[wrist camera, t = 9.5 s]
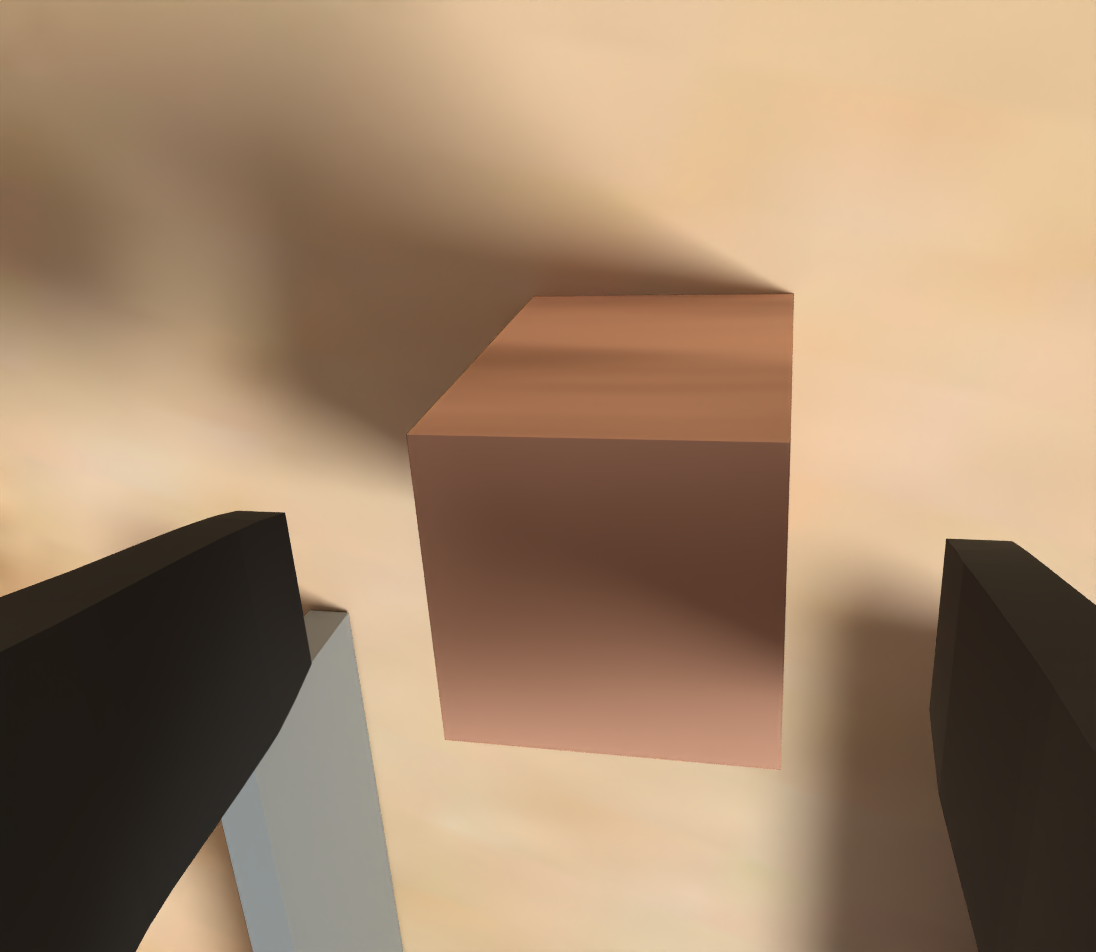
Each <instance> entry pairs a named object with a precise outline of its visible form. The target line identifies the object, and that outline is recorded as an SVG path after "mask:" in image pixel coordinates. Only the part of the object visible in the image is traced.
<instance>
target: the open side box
mask: <svg viewBox="0 0 1096 952" xmlns="http://www.w3.org/2000/svg"><path fill="white" fill-rule="evenodd" d="M304 622H305V627H306V633H307V639H308V644H309V650H310V655H311V661H312V665H311V667H310V669H309V671H308V674H307V676H306V678H305V680H304V683H303V685H302V687H301V689H300V691H299V694H298V696H297V698H296V700H295V702H294V704H293V706H292V708H291V710H290V712H289V714H288V716H287V718H286V720H285V722H284V724H283V726H282V728H281V730H280V732H279V734H278V736H277V737H276V739H275V740H274V742H273V743H272V745H271V746H270V748H269V749H268V751H267V752H266V754H265V755H264V757H263V758H262V760H261V761H260V763H259V764H258V766H257V767H256V769H255V770H254V772H253V773H252V775H251V776H250V778H249V779H248V781H247V782H246V784H245V785H244V787H243V788H242V790H241V791H240V792H239V794H238V795H237V797H236V798H235V800H234V801H233V803H232V804H231V805H230V807H229V808H228V810H227V811H226V813H225V814H224V816H223V817H222V818H221V821H222V825H223V829H224V833H225V838H226V842H227V846H228V850H229V854H230V858H231V863H232V867H233V871H234V875H235V879H236V883H237V888H238V892H239V896H240V900H241V904H242V908H243V913H244V917H245V921H246V925H247V929H248V933H249V938H250V942H251V946H252V950H253V952H403V947H402V941H401V934H400V928H399V922H398V916H397V910H396V904H395V897H394V891H393V885H392V879H391V873H390V867H389V860H388V854H387V848H386V842H385V836H384V829H383V823H382V817H381V811H380V805H379V799H378V792H377V786H376V780H375V774H374V768H373V762H372V755H371V749H370V743H369V737H368V731H367V725H366V718H365V712H364V706H363V700H362V694H361V687H360V681H359V675H358V669H357V663H356V657H355V650H354V644H353V638H352V632H351V626H350V620H349V613H346V612H329V611H313V610H309V611H308V612H307V614H306V615H305V616H304Z"/></svg>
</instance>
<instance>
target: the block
mask: <svg viewBox="0 0 1096 952" xmlns="http://www.w3.org/2000/svg"><path fill="white" fill-rule="evenodd" d="M793 310H794V294H714V295H621V296H534V297H533V298H532V299H531V300H530V301H529V302H528V303H527V304H526V305H525V306H524V308H523V309H522V310H521V311H520V312H519V313H518V314H517V315H516V316H515V317H514V318H513V319H512V321H511V322H510V323H509V324H508V325H507V326H506V327H505V328H504V329H503V330H502V331H501V333H500V334H499V335H498V336H497V337H496V338H495V339H494V340H493V341H492V342H491V343H490V344H489V346H488V347H487V348H486V349H485V350H484V351H483V352H482V353H481V354H480V355H479V356H478V357H477V359H476V360H475V361H474V362H473V363H472V364H471V365H470V366H469V367H468V368H467V369H466V371H465V372H464V373H463V374H462V375H461V376H460V377H459V378H458V379H457V380H456V381H455V382H454V384H453V385H452V386H451V387H450V388H449V389H448V390H447V391H446V392H445V393H444V394H443V395H442V397H441V398H440V399H439V400H438V401H437V402H436V403H435V404H434V405H433V406H432V407H431V408H430V410H429V411H428V412H427V413H426V414H425V415H424V416H423V417H422V418H421V419H420V420H419V422H418V423H417V424H416V425H415V426H414V427H413V428H412V429H411V430H410V431H409V432H408V433H407V435H406V436H407V444H408V451H409V459H410V467H411V475H412V483H413V491H414V499H415V507H416V515H417V523H418V531H419V538H420V546H421V554H422V562H423V570H424V578H425V586H426V594H427V602H428V610H429V617H430V625H431V633H432V641H433V649H434V657H435V665H436V673H437V681H438V689H439V697H440V704H441V712H442V720H443V728H444V736H445V740H452V741H463V742H474V743H486V744H497V745H508V746H519V747H530V748H542V749H553V750H564V751H575V752H586V753H598V754H609V755H620V756H631V757H642V758H654V759H665V760H676V761H687V762H698V763H710V764H721V765H732V766H743V767H754V768H766V769H777V770H781V738H782V705H783V673H784V640H785V607H786V574H787V542H788V509H789V476H790V443H791V399H792V354H793Z"/></svg>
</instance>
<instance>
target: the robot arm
mask: <svg viewBox="0 0 1096 952" xmlns="http://www.w3.org/2000/svg"><path fill="white" fill-rule="evenodd" d="M311 665H312V661H311V655H310V650H309V644H308V639H307V633H306V627H305V622H304V616H303V611H302V605H301V599H300V594H299V588H298V583H297V577H296V571H295V566H294V560H293V555H292V549H291V543H290V538H289V532H288V527H287V521H286V515H285V513H280V512H255V511H234V512H230V513H226V514H221V515H217V516H214V517H211V518H207V519H204V520H201V521H198V522H195V523H192V524H190V525H187V526H184V527H181V528H178V529H176V530H173V531H171V532H168V533H165V534H163V535H160V536H158V537H155V538H152V539H150V540H147V541H145V542H142V543H140V544H137V545H135V546H132V547H130V548H127V549H125V550H122V551H120V552H117V553H115V554H112V555H110V556H107V557H105V558H102V559H100V560H97V561H95V562H92V563H90V564H87V565H85V566H82V567H80V568H77V569H75V570H72V571H70V572H67V573H64V574H62V575H59V576H56V577H53V578H51V579H48V580H45V581H43V582H40V583H37V584H35V585H32V586H29V587H27V588H24V589H21V590H18V591H16V592H13V593H10V594H8V595H5V596H2V597H0V952H136V950H137V948H138V946H139V944H140V943H141V941H142V939H143V937H144V935H145V933H146V931H147V930H148V928H149V926H150V924H151V923H152V921H153V920H154V918H155V917H156V915H157V913H158V912H159V910H160V909H161V907H162V905H163V904H164V902H165V901H166V899H167V897H168V896H169V894H170V893H171V891H172V889H173V888H174V887H175V885H176V884H177V882H178V881H179V879H180V878H181V876H182V875H183V874H184V872H185V871H186V869H187V868H188V866H189V865H190V863H191V862H192V860H193V859H194V858H195V856H196V855H197V853H198V852H199V850H200V849H201V847H202V846H203V845H204V843H205V842H206V840H207V839H208V837H209V836H210V834H211V833H212V832H213V830H214V829H215V827H216V826H217V824H218V823H219V821H220V820H221V818H222V817H223V816H224V814H225V813H226V811H227V810H228V808H229V807H230V805H231V804H232V803H233V801H234V800H235V798H236V797H237V795H238V794H239V792H240V791H241V790H242V788H243V787H244V785H245V784H246V782H247V781H248V779H249V778H250V776H251V775H252V773H253V772H254V770H255V769H256V767H257V766H258V764H259V763H260V761H261V760H262V758H263V757H264V755H265V754H266V752H267V751H268V749H269V748H270V746H271V745H272V743H273V742H274V740H275V739H276V737H277V736H278V734H279V732H280V730H281V728H282V726H283V724H284V722H285V720H286V718H287V716H288V714H289V712H290V710H291V708H292V706H293V704H294V702H295V700H296V698H297V696H298V694H299V691H300V689H301V687H302V685H303V683H304V680H305V678H306V676H307V674H308V671H309V669H310V667H311ZM930 718H931V728H932V738H933V747H934V757H935V765H936V774H937V782H938V791H939V796H940V801H941V805H942V809H943V813H944V817H945V821H946V825H947V829H948V833H949V837H950V841H951V845H952V849H953V853H954V857H955V861H956V865H957V869H958V873H959V877H960V881H961V885H962V889H963V893H964V897H965V901H966V904H967V908H968V912H969V916H970V920H971V924H972V928H973V932H974V936H975V940H976V944H977V948H978V951H979V952H1096V605H1095V604H1094V603H1092V602H1091V601H1090V600H1089V599H1087V598H1086V597H1085V596H1083V595H1082V594H1081V593H1080V592H1078V591H1077V590H1076V589H1074V588H1073V587H1072V586H1071V585H1069V584H1068V583H1067V582H1066V581H1064V580H1063V579H1062V578H1060V577H1059V576H1058V575H1057V574H1055V573H1054V572H1053V571H1052V570H1050V569H1049V568H1048V567H1047V566H1045V565H1044V564H1043V563H1041V562H1040V561H1039V560H1038V559H1036V558H1035V557H1034V556H1032V555H1031V554H1030V553H1028V552H1027V551H1026V550H1024V549H1023V548H1022V547H1020V546H1019V545H1017V544H1015V543H1014V542H1012V541H992V540H967V539H946V547H945V557H944V567H943V577H942V587H941V598H940V608H939V618H938V628H937V638H936V649H935V659H934V669H933V679H932V690H931V700H930Z"/></svg>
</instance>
